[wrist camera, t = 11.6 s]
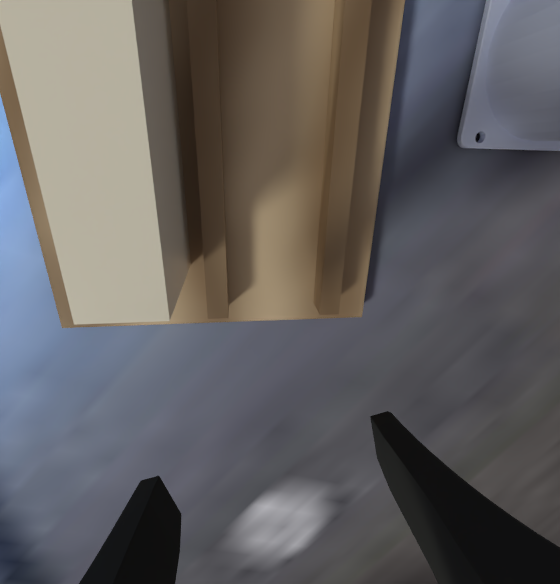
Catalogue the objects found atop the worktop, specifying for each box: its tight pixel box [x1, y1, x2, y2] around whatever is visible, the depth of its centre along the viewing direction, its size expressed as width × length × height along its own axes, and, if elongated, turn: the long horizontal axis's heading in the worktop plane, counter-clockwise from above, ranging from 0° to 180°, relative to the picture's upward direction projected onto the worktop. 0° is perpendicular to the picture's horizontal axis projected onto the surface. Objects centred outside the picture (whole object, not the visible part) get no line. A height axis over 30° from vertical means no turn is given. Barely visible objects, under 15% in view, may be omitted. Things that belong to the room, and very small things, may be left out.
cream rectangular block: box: [0, 0, 191, 325], centre depth 11 cm, size 3×12×6 cm, turn 179°
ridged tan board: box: [0, 0, 405, 328], centre depth 14 cm, size 16×18×2 cm
